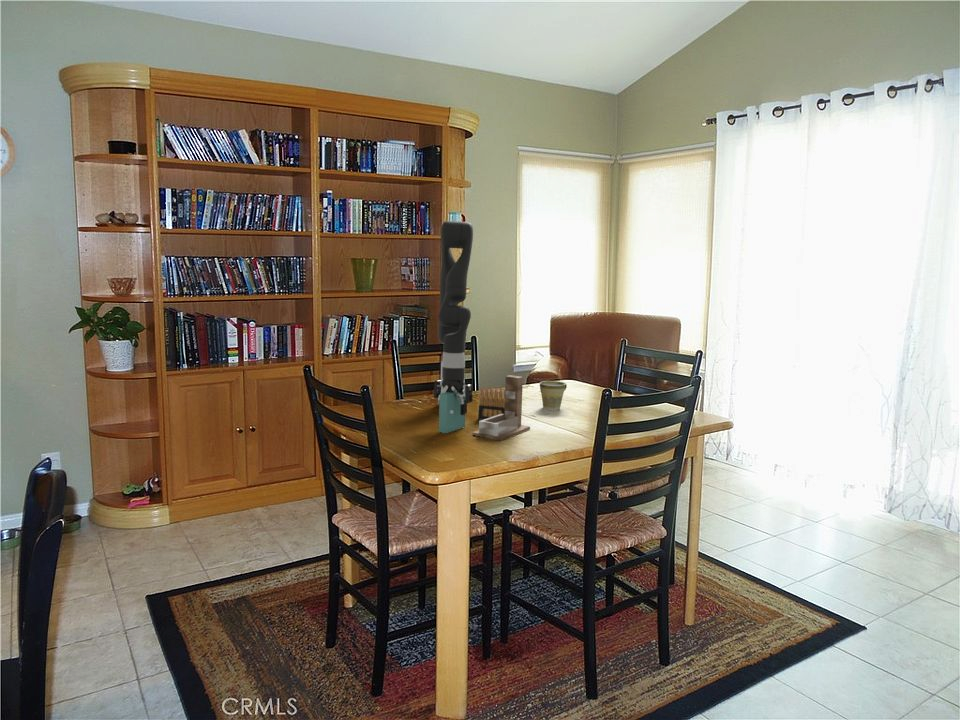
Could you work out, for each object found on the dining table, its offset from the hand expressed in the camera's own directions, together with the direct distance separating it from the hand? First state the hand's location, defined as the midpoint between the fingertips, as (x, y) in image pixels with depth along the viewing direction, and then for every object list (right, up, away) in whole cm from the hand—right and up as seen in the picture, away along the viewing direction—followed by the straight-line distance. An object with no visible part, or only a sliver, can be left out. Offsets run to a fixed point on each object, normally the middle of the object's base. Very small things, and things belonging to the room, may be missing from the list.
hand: (452, 413), depth 247 cm
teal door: (0, -6, +1) cm, 6 cm away
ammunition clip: (+14, -4, +17) cm, 22 cm away
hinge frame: (+16, -6, -1) cm, 18 cm away
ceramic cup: (+38, -1, +39) cm, 55 cm away
